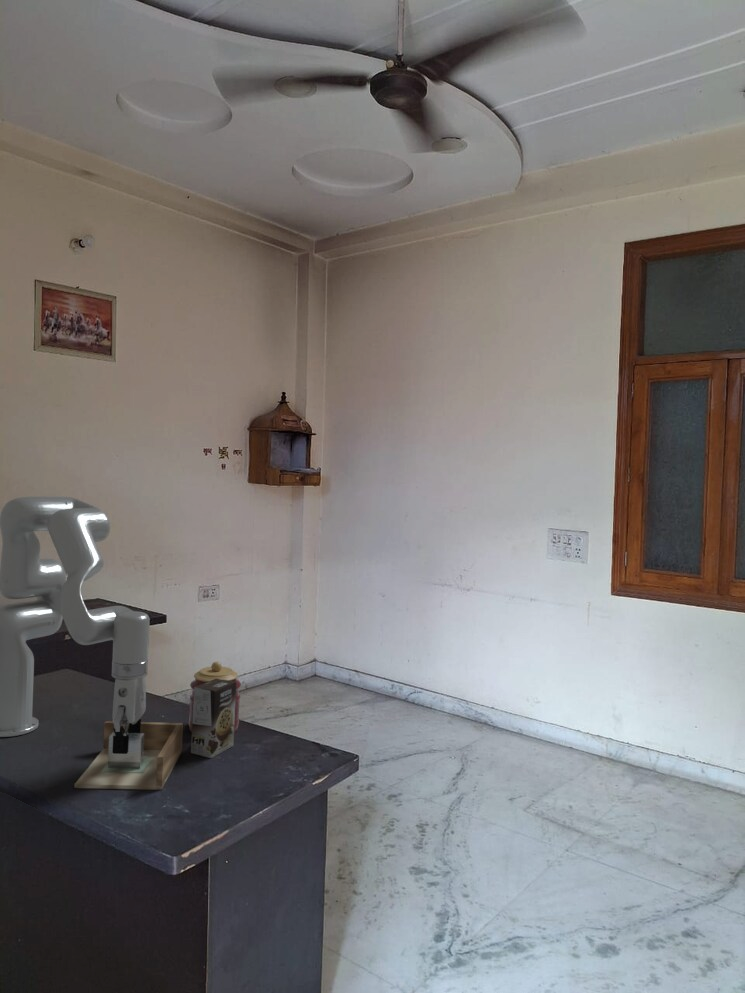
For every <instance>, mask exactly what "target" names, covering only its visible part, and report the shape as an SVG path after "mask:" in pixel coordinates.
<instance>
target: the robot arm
mask: <svg viewBox="0 0 745 993" xmlns="http://www.w3.org/2000/svg"><path fill="white" fill-rule="evenodd" d="M110 530H111V523H110V519H109V517H108V515H107V514H106V513H105V512H104V511H103V510H102V509H100V508H99V507H97V506H94V505H92V504H89V503H88V502H87V503H86V502H84V501H83V500H80V499H77V498H75V497H70V496H22V497H16V498H13V499H11V500H9V501H8V502H6V503H5V505H4V506H3V507H2V509H1V512H0V533H1V538H2V539H1V540H2V541H1V542H2V548H1V556H0V557H1V558H0V594H1V596H2V597H4V598H5V599H8V600H23V599H28V598H29V599H31V598H36V600H31V601H30V600H29V601H21V602H15V603H14V602H13V603H9V604H5V605H2V606H0V738H7V737H8V738H9V737H16V736H20V735H25V734H28V733H31V732H33V731H35V730H36V729H38V727H39V719H38V718H36V717H35V716H33V705H34V704H33V703H34V702H33V700H34V698H33V697H34V677H35V676H34V674H35V671H34V670H35V657H34V656H35V655H34V653H33V651H32V649H31V648H30V647H29V646H28V644H27V641H29V640H32V639H33V640H34V639H38V638H43V637H47V636H51V635H53V634H56V633H57V632H58V631H59V630H60V628H61V626H62V625H63V624H62V623H63V621H64V624H65V627H66V629H67V631H68V633H69V635H70V636H71V638H72V639H73V640H74V642H75V643H77V644H79V645H82V646H89V645H95V644H99V643H103V642H108V641H112V657H111V658H112V661H111V677H112V678H114V679H115V681H114V689H113V702H112V721H113V722H114V728H113V729H114V731H113V753H114V754H127V753H128V747H129V735H127V733H141V722H142V719H141V718H142V716H143V715H144V713H145V712H146V710H147V709H146V706H147V700H146V699H147V694H146V693H147V692H146V691H147V689H146V688H147V686H146V684H147V683H146V677H147V675H148V672H149V671H148V669H149V666H148V665H149V648H150V647H149V645H150V624H151V623H150V616H149V615H148V614H147V613H146V612H142V611H139V610H138V611H137V610H136V611H135V610H132V609H130V608H129V607H127V606H123V605H112V606H106V607H105V606H104V607H98V608H93V609H88V608H87V606H86V603H85V602H84V599H83V595H82V586H83V584H84V582H85V581H87V580H89V579H91V578H92V577H94V576H96V575H97V574H98V573H99V572H100V571H101V570H102V569H103V567H104V562H105V561H104V560H103V557H102V554H101V552H100V550H99V547H98V545H97V543H98V542H99V543H100V542H102V541H105V539H107V538H108V537H109V534H110ZM35 532H48V534H49V535H50V538H51V540H52V544H53V546H54V548H55V551H56V553H57V556H58V557H59V558H58V559H59V560H60V561H58V560H56V559H54V558H40V555H41V554H40V552H41V544H40V543H41V541H39V538H38V536H37V534H36V533H35ZM121 725H125V729H124V728H123V726H121Z"/></svg>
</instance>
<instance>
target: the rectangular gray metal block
mask: <svg viewBox="0 0 745 993" xmlns="http://www.w3.org/2000/svg"><path fill="white" fill-rule="evenodd" d="M127 735H129V747H128V753H127V754H114V753H113V733H112V734H111V735H110V736H109V751H108V768H124V769H140V768H141V767H142V765H143V764H144V762H145V761H146V759H147V752H148V751H144V733H127Z"/></svg>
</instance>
